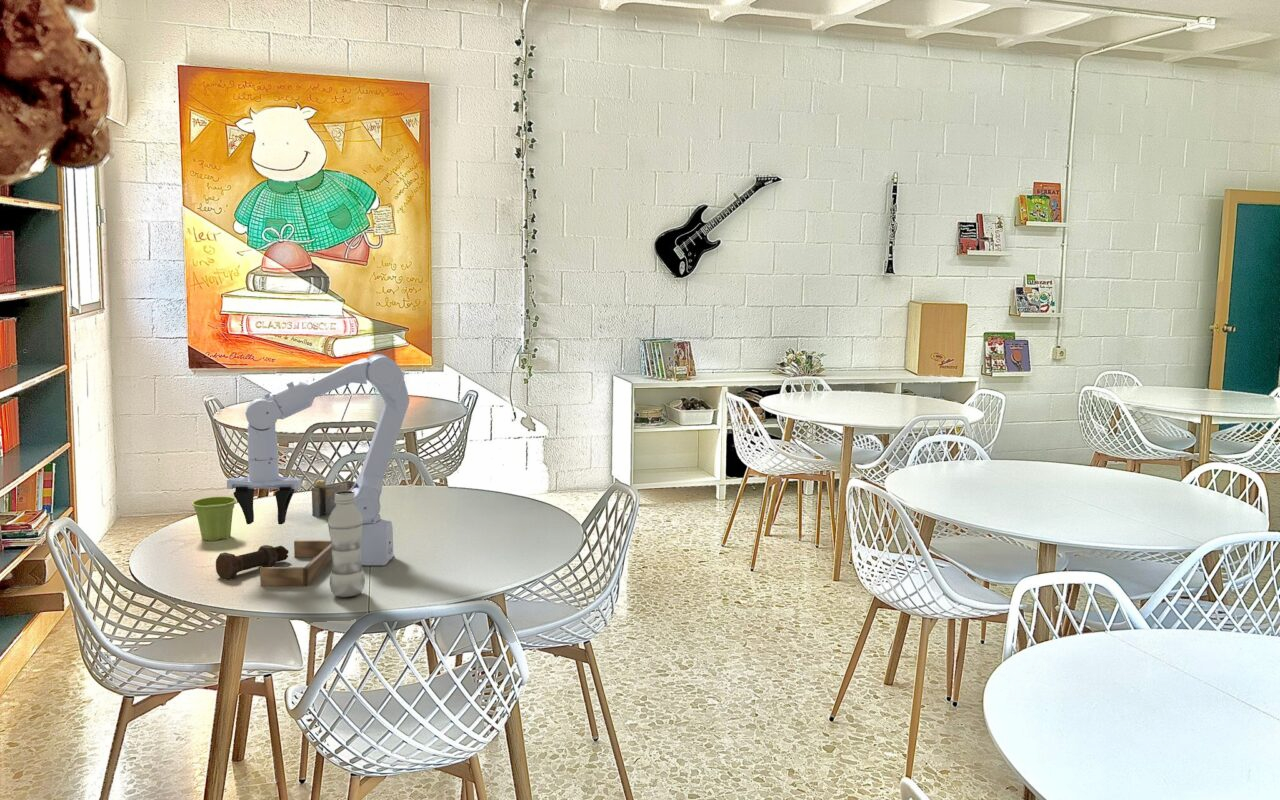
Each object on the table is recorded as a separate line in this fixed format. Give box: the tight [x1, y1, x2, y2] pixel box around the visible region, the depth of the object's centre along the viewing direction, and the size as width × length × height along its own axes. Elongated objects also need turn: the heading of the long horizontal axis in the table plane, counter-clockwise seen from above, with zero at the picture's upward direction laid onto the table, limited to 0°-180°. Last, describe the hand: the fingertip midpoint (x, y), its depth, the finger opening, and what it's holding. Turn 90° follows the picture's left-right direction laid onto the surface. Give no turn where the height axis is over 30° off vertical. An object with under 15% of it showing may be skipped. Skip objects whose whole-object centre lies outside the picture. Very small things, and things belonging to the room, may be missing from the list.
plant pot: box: [191, 496, 237, 542], centre depth 231 cm, size 9×9×9 cm
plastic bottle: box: [327, 491, 366, 598], centre depth 190 cm, size 6×7×20 cm
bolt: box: [215, 544, 289, 581], centre depth 207 cm, size 6×5×15 cm
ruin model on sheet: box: [311, 479, 356, 518], centre depth 256 cm, size 11×3×10 cm, turn 143°
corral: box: [259, 539, 332, 587], centre depth 207 cm, size 9×21×4 cm, turn 0°
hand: (265, 523), depth 206 cm, fingers open, 6 cm apart
